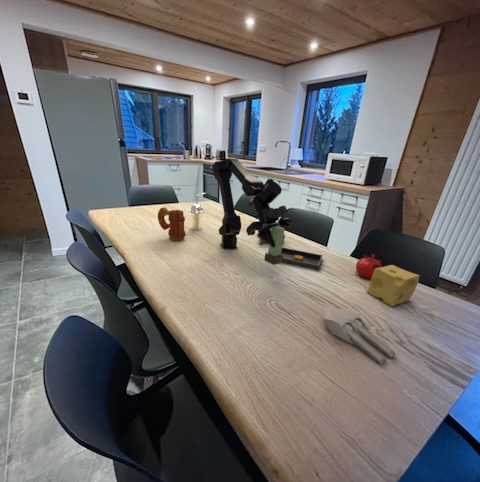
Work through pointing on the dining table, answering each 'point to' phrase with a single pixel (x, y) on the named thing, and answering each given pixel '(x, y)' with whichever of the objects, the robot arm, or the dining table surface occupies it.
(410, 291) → the cheese
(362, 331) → the turret
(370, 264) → the pomegranate
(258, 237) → the brown spiky lump
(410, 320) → the dining table surface
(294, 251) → the pan
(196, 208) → the cup with straw
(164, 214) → the mug
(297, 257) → the crust
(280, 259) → the brush
